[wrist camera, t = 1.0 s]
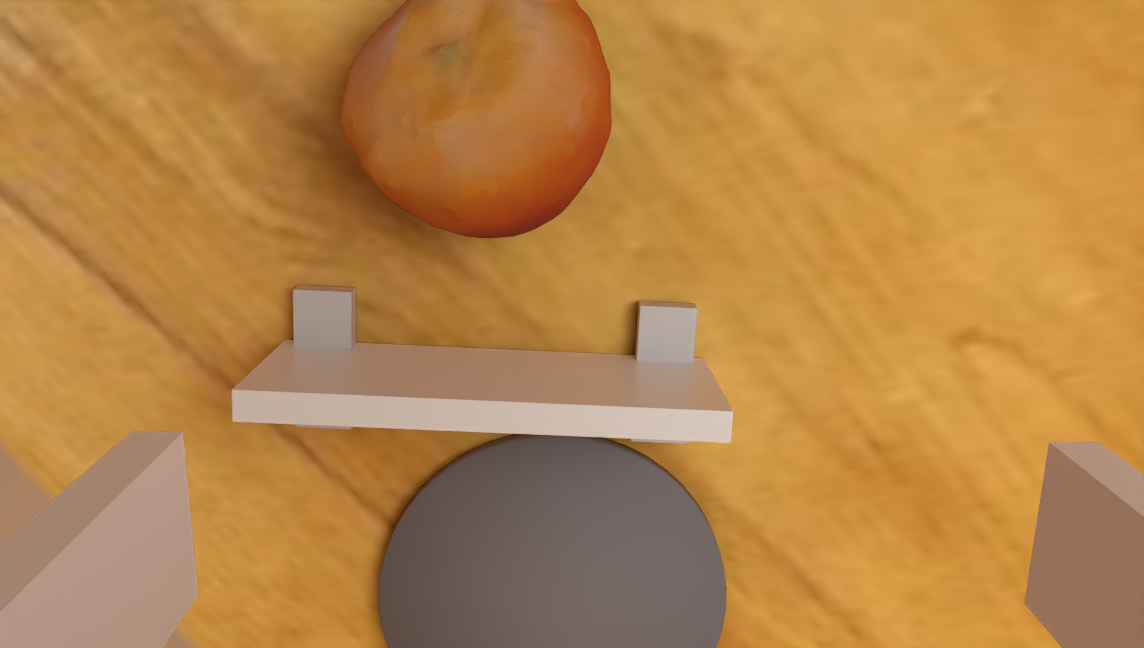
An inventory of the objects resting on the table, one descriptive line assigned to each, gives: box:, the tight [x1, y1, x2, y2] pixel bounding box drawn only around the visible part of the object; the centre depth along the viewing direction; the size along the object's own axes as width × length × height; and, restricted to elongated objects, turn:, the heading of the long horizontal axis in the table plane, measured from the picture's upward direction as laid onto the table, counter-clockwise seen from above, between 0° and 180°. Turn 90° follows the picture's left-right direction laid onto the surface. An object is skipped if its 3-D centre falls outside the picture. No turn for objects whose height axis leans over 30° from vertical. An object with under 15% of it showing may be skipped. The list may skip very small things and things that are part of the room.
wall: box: [232, 285, 733, 444], centre depth 32 cm, size 5×15×6 cm, turn 87°
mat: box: [379, 434, 726, 648], centre depth 37 cm, size 13×13×1 cm
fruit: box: [340, 0, 612, 238], centre depth 31 cm, size 8×8×8 cm
